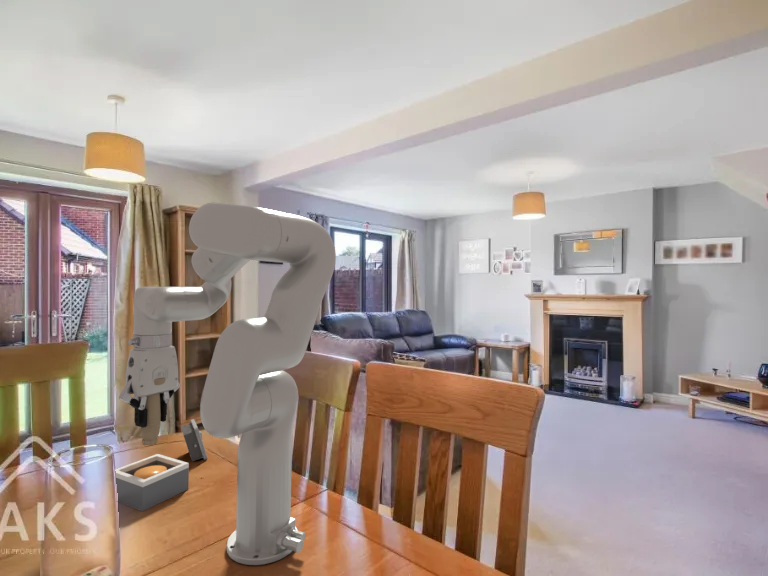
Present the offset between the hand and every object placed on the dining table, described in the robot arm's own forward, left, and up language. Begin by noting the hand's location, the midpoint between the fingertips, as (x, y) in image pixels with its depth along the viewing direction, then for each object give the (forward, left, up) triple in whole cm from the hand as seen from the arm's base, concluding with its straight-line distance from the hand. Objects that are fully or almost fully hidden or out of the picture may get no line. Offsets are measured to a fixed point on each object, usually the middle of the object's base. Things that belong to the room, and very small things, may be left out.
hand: (150, 422), depth 95 cm
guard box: (0, 0, -16) cm, 16 cm away
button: (0, 0, -13) cm, 13 cm away
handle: (0, 0, -5) cm, 5 cm away
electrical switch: (+9, -19, -16) cm, 26 cm away
